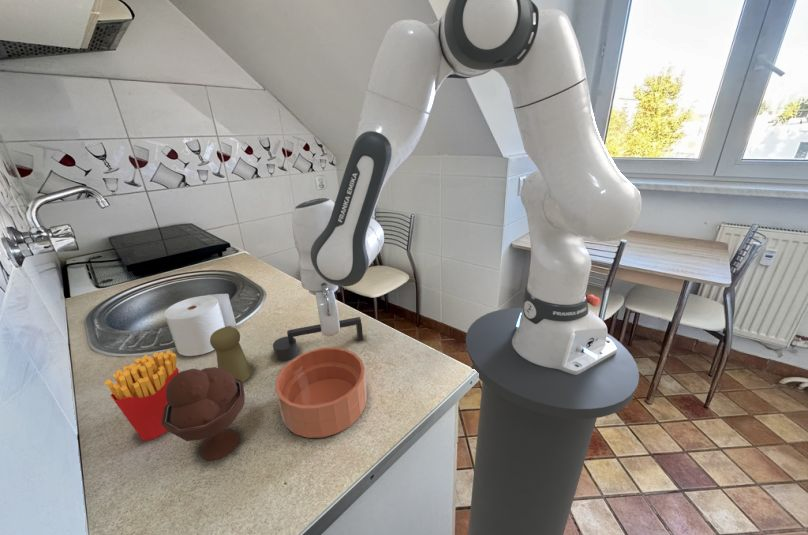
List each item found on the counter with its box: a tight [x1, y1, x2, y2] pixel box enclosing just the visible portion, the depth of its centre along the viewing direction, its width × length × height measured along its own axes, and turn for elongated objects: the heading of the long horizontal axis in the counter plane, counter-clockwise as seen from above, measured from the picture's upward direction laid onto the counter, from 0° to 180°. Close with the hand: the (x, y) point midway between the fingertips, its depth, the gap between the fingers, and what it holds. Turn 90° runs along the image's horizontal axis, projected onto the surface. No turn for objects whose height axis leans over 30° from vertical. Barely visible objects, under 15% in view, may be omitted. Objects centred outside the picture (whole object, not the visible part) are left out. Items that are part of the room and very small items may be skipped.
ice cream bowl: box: [161, 366, 246, 462], centre depth 49 cm, size 11×11×15 cm
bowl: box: [274, 346, 368, 439], centre depth 58 cm, size 15×15×7 cm
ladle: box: [272, 316, 364, 362], centre depth 74 cm, size 20×5×6 cm, turn 108°
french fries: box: [104, 349, 180, 442], centre depth 54 cm, size 9×4×13 cm, turn 144°
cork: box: [210, 326, 253, 383], centre depth 65 cm, size 6×6×11 cm
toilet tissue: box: [163, 293, 237, 357], centre depth 76 cm, size 11×12×10 cm
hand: (329, 329), depth 74 cm, fingers open, 3 cm apart
